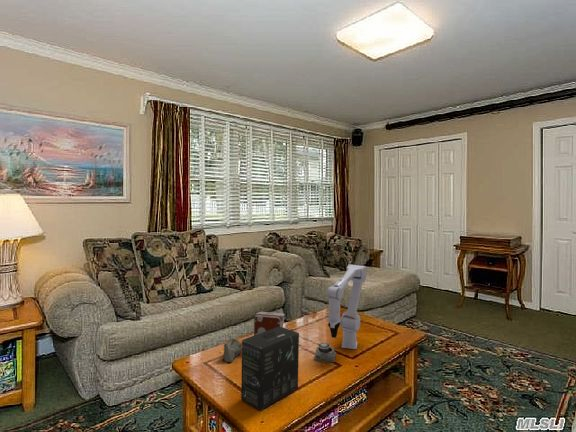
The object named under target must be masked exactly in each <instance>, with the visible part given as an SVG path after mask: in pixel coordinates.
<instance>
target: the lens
mask: <svg viewBox="0 0 576 432" xmlns="http://www.w3.org/2000/svg"><path fill="white" fill-rule="evenodd" d="M318 346H319V351H321V352H329V346H330V344H329V343H326V342H322V343H319V345H318Z"/></svg>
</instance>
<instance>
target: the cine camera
mask: <svg viewBox="0 0 576 432" xmlns="http://www.w3.org/2000/svg"><path fill="white" fill-rule="evenodd" d="M285 316H286V315H285V313H281V312H270V311H259V312H256V313H255V315H254V317H253V318H254V319H253V336H254V335H257V334H260V333H263V332H265V331H268V330H271V329H273V328H276V327H278V326H279V327H283V328H285V329H288V330H290V329H289V328H288V327H285V326H284V320H285Z"/></svg>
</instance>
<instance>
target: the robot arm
mask: <svg viewBox="0 0 576 432" xmlns="http://www.w3.org/2000/svg"><path fill="white" fill-rule="evenodd" d="M345 270H346V272H345V273H344V275H343V276H342V277H339V278H338V279H337V281H336V282H335V283H334V284H333V285H331V286H329V287H327V290H326V297H327V301H328V317H326V319H325V320H326V321H328V324H327V326H328V327H329V330H330V336H331V338H334V339H336V338H337V335H338V331H339V327H341V330H342V343H341V348H343V349H350V350H351V349H352V350H357V348H358V341H357V332H358V331H359V330H360V327H361V317H360V314H358V307H359V302H360V297H361V293H362V287H363V283H364V282H366V279H367V275H368V270H367V267H366V265H358V264H357V265H356V264H351V263H349V264H348V265H347V267H346V269H345ZM350 281H352V287H351V291H350V292H351V293H350V295H349V296H350V297H349V300H348V301H349V302H348V306H347V310H346V311H343V313H342V315H341V299H342V298H343V295H344V291H345V290H346V289H347V288H348V286H349V282H350Z"/></svg>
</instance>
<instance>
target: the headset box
mask: <svg viewBox="0 0 576 432" xmlns="http://www.w3.org/2000/svg"><path fill="white" fill-rule="evenodd" d="M283 327H284V326H283ZM283 327H279V326H278V327H276V328H273V329H271V330H268V331H265V332H263V333H260V334H257V335H254V334H253V335H251V336H250V337H249V336H248V337H246V338H244V339H242V340H241V343H242V349H241V384H240V385H241V388H240V389H241V391H240V392H241V393H240V399H241V400H242V401H243V402H245V403H246V404H248V405H249V406H251V407H253V408H254V409H257V410H258V411H262V410H264V409H265V408H267V407H268V406H269V407H270V405H273V403H275V402H277V401H279V400H280V399H283V398H285V397H286V396H287V395H289V394H290V393H293V392H294V391H296V390H297V389H298V388H299V355H300V354H299V353H300V350H299V348H300V347H299V346H300V345H299V344H300V333H299V332H298V331H294V330H290V329H289V328H287V329H285V328H286V327H284V328H283ZM288 329H289V330H288Z"/></svg>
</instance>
